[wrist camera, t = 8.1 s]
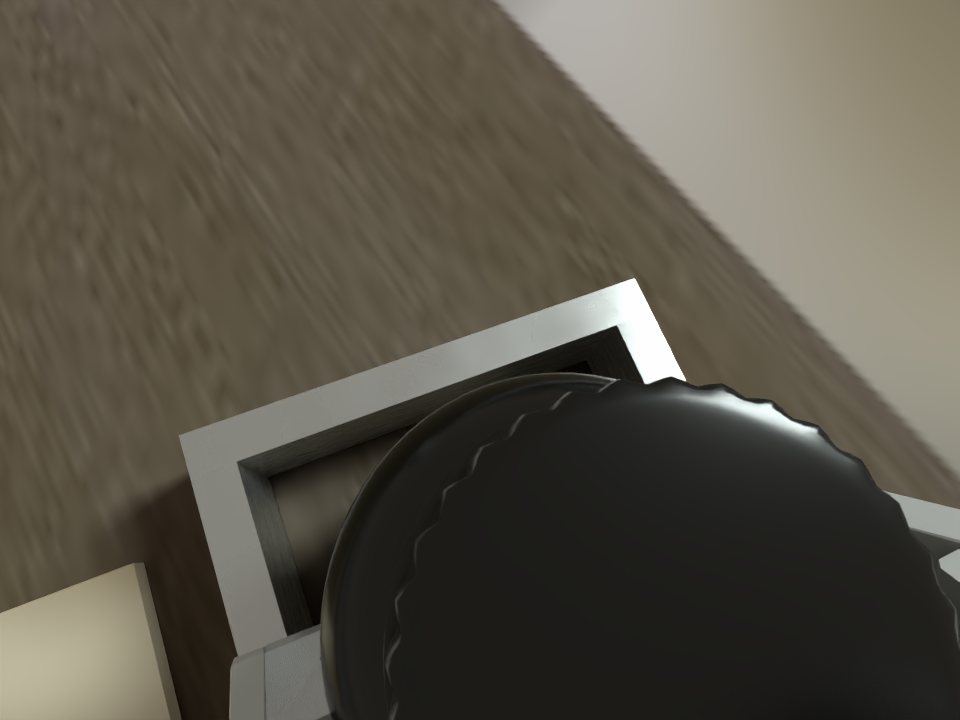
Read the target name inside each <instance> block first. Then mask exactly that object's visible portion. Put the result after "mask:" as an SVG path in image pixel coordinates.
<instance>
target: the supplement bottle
mask: <svg viewBox="0 0 960 720" xmlns="http://www.w3.org/2000/svg"><path fill="white" fill-rule="evenodd" d="M320 652H321V669H322V676H323V683H324V689H325V696H326V700H327V704H328V708H329V713H330V717H331V720H960V641H959V634H958V619H957V609H956V607H955V606H954V604H953V602H952V601H951V599H950V598H949V596H948V595H947V594H946V593H945V592H944V591H943V589H942V588H941V586H940V584H939V583H938V578H937V573H936V569H935V565H934V561H933V557H932V553H931V552H930V551H929V550H928V548H927V547H926V546H925V545H924V544H923V543H922V542H921V541H920V540H919V539H918V538H917V537H916V536H915V535H914V534H913V533H912V532H911V531H910V528H909V526H908V523H907V520H906V517H905V515H904V513H903V510H902V508H901V506H900V503H899V502H898V501H896V500H895V499H894V498H893V497H892V496H890V495H889V494H888V493H886V492H884V491H882V490H881V489H880V488H879V487H877V486H876V484H875V482H874V480H873V478H872V477H871V475H870V473H869V471H868V469H867V468H866V466H865V465H864V463H863V462H862V460H861V459H859V458H857V457H855V456H854V455H852V454H850V453H847V452H844V451H842V450H840V449H838V448H837V447H836V446H835V445H834V444H833V443H832V442H831V440H830V439H829V437H828V435H827V434H826V433H825V432H824V431H823V430H822V429H821V428H820V427H819V426H818V425H816V424H812V423H809V422H806V421H802V420H797V419H793V418H792V417H790V416H789V415H788V414H787V413H786V412H785V411H784V410H783V409H782V408H781V407H780V406H778V405H777V404H776V403H775V402H773V401H772V400H768V399H759V398H745V397H744V396H742V395H741V394H739V393H738V392H736V391H735V390H733V389H731V388H729V387H728V386H726V385H724V384H722V383H721V384H709V385H703V386H699V387H697V386H694V385H691V384H689V383H688V382H686V381H684V380H681V379H679V378H676V377H673V376H669V377H665V378H662V379H659V380H655V381H653V382H651V383H649V384H643V383H639V382H637V381H633V380H627V379H614V378H608V377H603V376H598V375H591V374H581V373H543V374H533V375H525V376H520V377H515V378H510V379H506V380H502V381H499V382H496V383H492V384H489V385H486V386H483V387H481V388H478V389H476V390H473V391H471V392H469V393H466V394H464V395H462V396H460V397H458V398H456V399H455V400H453V401H451V402H449V403H447V404H445V405H444V406H442V407H441V408H439V409H438V410H436V411H435V412H433V413H432V414H430V415H429V416H427V417H426V418H424V419H423V420H422V421H421V422H419V423H418V424H417V425H416V426H415V427H413V428H412V429H411V430H410V431H409V432H407V433H406V434H405V435H404V436H403V437H402V438H401V439H400V440H399V441H398V442H397V443H396V444H395V445H394V446H393V447H392V448H391V449H390V450H389V452H388V453H387V454H386V455H385V456H384V458H383V459H382V460H381V461H380V463H379V464H378V465H377V466H376V467H375V469H374V470H373V472H372V473H371V475H370V476H369V478H368V479H367V480H366V482H365V483H364V485H363V486H362V488H361V490H360V491H359V493H358V495H357V497H356V499H355V500H354V502H353V504H352V506H351V508H350V510H349V512H348V514H347V516H346V519H345V521H344V523H343V525H342V528H341V530H340V532H339V535H338V538H337V541H336V544H335V547H334V550H333V553H332V556H331V559H330V564H329V568H328V572H327V577H326V581H325V586H324V593H323V601H322V609H321V625H320Z"/></svg>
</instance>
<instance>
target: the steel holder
mask: <svg viewBox="0 0 960 720" xmlns="http://www.w3.org/2000/svg"><path fill="white" fill-rule="evenodd" d="M583 361H587V363H588V365H589V368H590V370H591V372H592V374H593V375H598V376H603V377H608V378H614V379H627V380H633V381H637V382H639V383H643V384H649V383H651V382H653V381H655V380H659V379H662V378H665V377H669V376H673V377H676V378H679V379H681V380H684V381H686V380H685V378H684V376H683V374H682V372H681V370H680V368H679V366H678V364H677V362H676V360H675V358H674V356H673V354H672V352H671V350H670V348H669V346H668V344H667V342H666V340H665V338H664V336H663V334H662V332H661V330H660V328H659V326H658V324H657V322H656V320H655V318H654V316H653V314H652V312H651V310H650V308H649V306H648V304H647V302H646V300H645V298H644V296H643V294H642V292H641V290H640V288H639V286H638V284H637V282H636V280H635V278H634V279H631V280H628V281H625V282H622V283H619V284H616V285H614V286H611V287H608V288H605V289H602V290H599V291H596V292H593V293H590V294H587V295H585V296H582V297H579V298H576V299H573V300H570V301H567V302H564V303H561V304H559V305H556V306H553V307H550V308H547V309H544V310H541V311H538V312H535V313H532V314H530V315H527V316H524V317H521V318H518V319H515V320H512V321H509V322H506V323H503V324H501V325H498V326H495V327H492V328H489V329H486V330H483V331H480V332H477V333H475V334H472V335H469V336H466V337H463V338H460V339H457V340H454V341H451V342H448V343H446V344H443V345H440V346H437V347H434V348H431V349H428V350H425V351H422V352H419V353H417V354H414V355H411V356H408V357H405V358H402V359H399V360H396V361H393V362H390V363H388V364H385V365H382V366H379V367H376V368H373V369H370V370H367V371H364V372H362V373H359V374H356V375H353V376H350V377H347V378H344V379H341V380H338V381H335V382H333V383H330V384H327V385H324V386H321V387H318V388H315V389H312V390H309V391H306V392H304V393H301V394H298V395H295V396H292V397H289V398H286V399H283V400H280V401H278V402H275V403H272V404H269V405H266V406H263V407H260V408H257V409H254V410H251V411H249V412H246V413H243V414H240V415H237V416H234V417H231V418H228V419H225V420H222V421H220V422H217V423H214V424H211V425H208V426H205V427H202V428H199V429H196V430H194V431H191V432H188V433H185V434H182V435H179V438H180V442H181V445H182V449H183V453H184V457H185V460H186V464H187V468H188V472H189V475H190V479H191V483H192V486H193V490H194V494H195V498H196V501H197V505H198V509H199V513H200V516H201V520H202V524H203V527H204V531H205V535H206V539H207V542H208V546H209V550H210V554H211V557H212V561H213V565H214V569H215V572H216V576H217V580H218V583H219V587H220V591H221V595H222V598H223V602H224V606H225V610H226V613H227V617H228V621H229V624H230V628H231V632H232V636H233V639H234V643H235V647H236V651H237V654H238V656H241V655H243V654H246V653H248V652H251V651H253V650H256V649H258V648H261V647H263V646H266V645H267V644H270V643H272V642H275V641H277V640H280V639H282V638H285V637H288V636H290V635H293V634H295V633H298V632H300V631H303V630H305V629H308V628H311V627H313V623H312V619H311V616H310V613H309V609H308V606H307V603H306V599H305V596H304V593H303V589H302V586H301V583H300V579H299V576H298V573H297V569H296V566H295V563H294V560H293V556H292V553H291V550H290V546H289V543H288V540H287V536H286V533H285V530H284V526H283V523H282V520H281V516H280V513H279V510H278V506H277V503H276V500H275V496H274V493H273V490H272V486H271V483H270V480H269V477H270V476H273V475H276V474H279V473H281V472H284V471H287V470H289V469H292V468H295V467H298V466H300V465H303V464H306V463H308V462H311V461H314V460H317V459H319V458H322V457H325V456H327V455H330V454H333V453H336V452H338V451H341V450H344V449H347V448H349V447H352V446H355V445H357V444H360V443H363V442H366V441H368V440H371V439H374V438H376V437H379V436H382V435H385V434H387V433H390V432H393V431H395V430H398V429H401V428H404V427H406V426H409V425H412V424H414V423H417V422H420V421H422V420H423V419H424V418H426V417H427V416H429V415H430V414H432V413H433V412H435V411H436V410H438V409H439V408H441V407H442V406H444V405H445V404H447V403H449V402H451V401H453V400H455V399H456V398H458V397H460V396H462V395H464V394H466V393H469V392H471V391H473V390H476V389H478V388H481V387H483V386H486V385H489V384H492V383H496V382H499V381H502V380H506V379H510V378H515V377H520V376H525V375H533V374H543V373H553V372H556V371H558V370H561V369H564V368H567V367H569V366H572V365H575V364H578V363H580V362H583Z"/></svg>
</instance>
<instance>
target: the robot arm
mask: <svg viewBox="0 0 960 720" xmlns="http://www.w3.org/2000/svg"><path fill="white" fill-rule="evenodd" d="M884 492H885V491H884ZM886 493H888V494H889V495H890V496H892V497H893V498H894V499H895V500H896V501H898V502H899V503H900V506H901V508H902V510H903V513H904V515H905V517H906V520H907V523H908V526H909V528H910V531H911V532H912V533H913V534H914V535H915V536H916V537H917V538H918V539H919V540H920V541H921V542H922V543H923V544H924V545H925V546H926V547H927V548H928V550H929V551H930V552H931V553H932V557H933V561H934V565H935V569H936V573H937V578H938V583H939V584H940V586H941V588H942V589H943V591H944V592H945V593H946V594H947V595H948V596H949V598H950V599H951V601H952V602H953V604H954V606H955V607H956V609H957V619H958V634H959V641H960V510H959V509H955V508H951V507H947V506H943V505H939V504H935V503H930V502H926V501H922V500H918V499H914V498H910V497H906V496H902V495H897V494H893V493H889V492H886ZM320 625H321V624H318V625H316V626H313V627H311V628H308V629H305V630H303V631H300V632H298V633H295V634H293V635H290V636H288V637H285V638H282V639H280V640H277V641H275V642H272V643H270V644H267V645H266V646H263V647H261V648H258V649H256V650H253V651H251V652H248V653H246V654H243V655H241V656H238V657H236V658H234V660H233V663H232V666H231V669H230V706H229V720H331V717H330V713H329V708H328V704H327V700H326V696H325V689H324V683H323V676H322V669H321V652H320Z"/></svg>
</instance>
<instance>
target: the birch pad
mask: <svg viewBox="0 0 960 720" xmlns="http://www.w3.org/2000/svg"><path fill="white" fill-rule="evenodd" d="M0 720H182V719H181V715H180V710H179V706H178V702H177V698H176V694H175V690H174V685H173V681H172V677H171V673H170V669H169V665H168V660H167V656H166V652H165V648H164V644H163V640H162V635H161V631H160V627H159V623H158V619H157V615H156V610H155V606H154V602H153V598H152V594H151V590H150V585H149V581H148V577H147V573H146V569H145V565H144V562H143V563H132V564H129V565H127V566H124V567H121V568H119V569H116V570H113V571H111V572H108V573H105V574H103V575H100V576H98V577H95V578H92V579H90V580H87V581H84V582H82V583H79V584H76V585H74V586H71V587H68V588H66V589H63V590H61V591H58V592H55V593H53V594H50V595H47V596H45V597H42V598H39V599H37V600H34V601H32V602H29V603H26V604H24V605H21V606H18V607H16V608H13V609H10V610H8V611H5V612H3V613H0Z"/></svg>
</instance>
